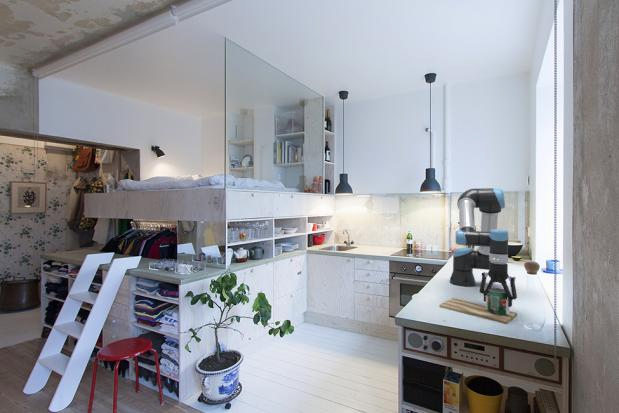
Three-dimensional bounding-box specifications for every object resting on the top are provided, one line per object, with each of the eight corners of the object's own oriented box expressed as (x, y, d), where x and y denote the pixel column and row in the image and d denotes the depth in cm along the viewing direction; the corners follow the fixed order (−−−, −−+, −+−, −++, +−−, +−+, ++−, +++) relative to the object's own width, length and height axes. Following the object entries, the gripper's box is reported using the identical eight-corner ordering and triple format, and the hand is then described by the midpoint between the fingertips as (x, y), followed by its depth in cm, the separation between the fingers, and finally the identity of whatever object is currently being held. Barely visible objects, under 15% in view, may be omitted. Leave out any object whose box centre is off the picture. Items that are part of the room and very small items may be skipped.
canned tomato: (508, 317, 144) (509, 293, 144) (489, 314, 147) (489, 291, 147) (505, 311, 151) (505, 288, 151) (486, 309, 154) (486, 286, 154)
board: (452, 300, 172) (452, 298, 172) (516, 315, 150) (517, 312, 150) (439, 306, 161) (439, 304, 161) (506, 323, 139) (506, 321, 139)
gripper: (472, 260, 154) (471, 307, 154) (521, 267, 139) (520, 318, 139) (477, 258, 159) (476, 303, 159) (526, 264, 144) (525, 314, 144)
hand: (497, 310), depth 149 cm, fingers closed on canned tomato, 8 cm apart
